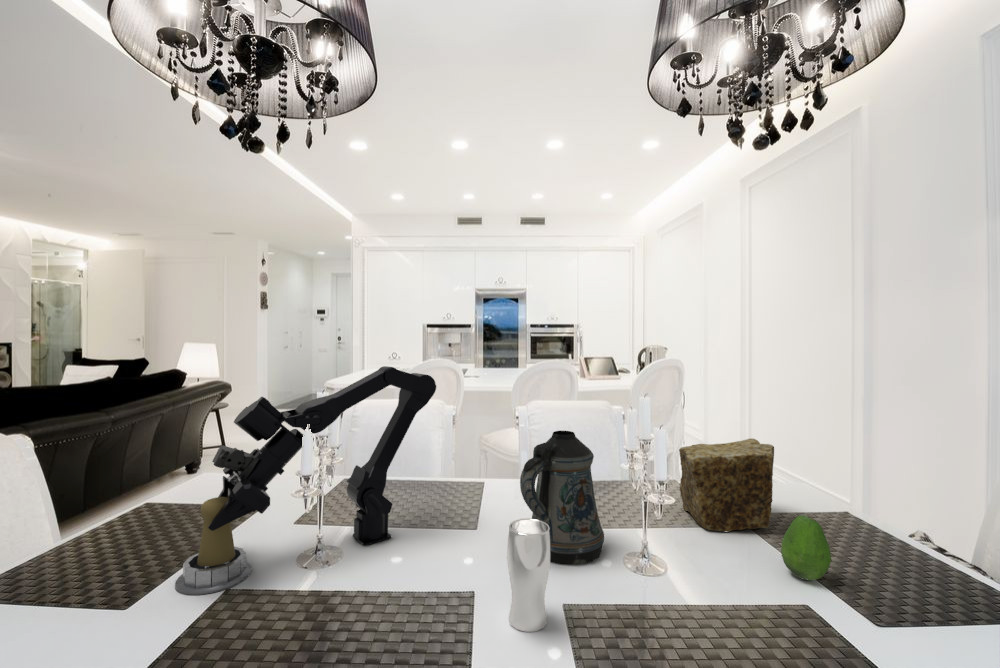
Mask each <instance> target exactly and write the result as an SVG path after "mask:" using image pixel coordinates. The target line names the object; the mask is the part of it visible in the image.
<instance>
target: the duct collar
mask: <svg viewBox="0 0 1000 668" xmlns="http://www.w3.org/2000/svg"><path fill="white" fill-rule="evenodd" d="M234 549H235V557H234V558H233V559H232V560H230V561H228V562H226V563H223V564H220V565H216V566H209V567H206V566H199V565H198V564H197V560H198V554H199V552H198V553H195V554H193V555H191V556H189V557H188V558H187V559H186V560H185V561H184V562H183V566H182V574H181V575H179V576H178V578H177V579H176V580H175V582H174V583H175V584H174V587H175V590H176V591H177V592H178V593H180V594H182V595H188V596H203V595H210V594H215V593H218V592H222V591H225V590H228V589H231V588H233V587H235V586H237V585H240V584H241V583H243V582H244V581H245V580H246V579H248V577H249V576H250V575H251V574H252V570H253V569H252V564H251V563H250V562H249V561H247V560H246V559H247V557H246V555H247V552H246V551H245V549H244V548H242V547H238V546H234Z"/></svg>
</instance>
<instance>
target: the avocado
mask: <svg viewBox="0 0 1000 668" xmlns="http://www.w3.org/2000/svg"><path fill="white" fill-rule="evenodd" d="M780 553H781V557H782V562H783V564H784V566H785V567H786V568H787V569H788V570H789V571H790V572H791V573H792V574H793V575H794V576H795V575H796V576H795V577H797V576H798V577H797V578H799V577H800V578H799V579H801V578H803V579H802V580H804V579H808V580H807V581H809V580H811V581H815V580H819V579H821V578H823V577H824V576H825V575H826V573H827V572H828V571H829V568H830V565H831V563H832V554H831V548H830V546H829V542H828V539H827V538H826V535H825V532H824V530H823V528H822V525H820V522H819V521H816V520H815V519H814V518H812V517H810V516H809V515H804V514H803V515H798V516H796V517H795V518H794V519H793V520H792V522H791V523H790V525H789V526H788V528H787V529H786V531H785V533H784V536H783V538H782V539H781V548H780Z"/></svg>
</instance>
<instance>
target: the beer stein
mask: <svg viewBox="0 0 1000 668" xmlns="http://www.w3.org/2000/svg"><path fill="white" fill-rule="evenodd" d="M532 453H533V455H532V458H529V459H528V460H527V461H526V463H524V465H523V469H522V471H521V474H520V477H519V484H520V485H519V486H520V493H521V496H522V499H523V500H524V502H525V504H526V505H527V507H528V508H529V510H530V511H531V512H532V515H531V519H537V520H541V521H543V522H545V523H547V524H548V525H549V526H550V543H551V560H550V563H553V564H558V565H564V566H565V565H567V566H578V565H579V566H580V565H587V564H589V563H592V562H593V563H594V562H595V560H597V559H599V558H600V557H601V555H602V553H603V547H604V543H605V533H604V530H603V527H602V525H601V522H600V517H599V514H598V508H597V503H596V497H595V491H594V489H595V488H594V485H593V484H594V482H593V475H592V468H591V467H592V464H593V461H594V457H595V456H594V453H593V451H592V450H591V449H590V448H589V447H588V446H586V444H584V443H583V442H582V441H581V440H580V439H579V438H578V437H576V433H575V432H574V431H570V430H555V431H553V432H552V435H551V437H550V438H549V439H547V441H545V442H543V443H539V444H537V445H535V446H534V448H533V451H532ZM536 480H537V482H536ZM535 486H536V487H535Z"/></svg>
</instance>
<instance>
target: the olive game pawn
mask: <svg viewBox="0 0 1000 668" xmlns="http://www.w3.org/2000/svg"><path fill="white" fill-rule="evenodd" d="M227 500H228V497H218V496H217V497H211V498H210V499H207V500H205V501H204V502H203V503H202V505H201V506H200V516H201V518H202V519H203V524H202V528H201V529H202V530H201V537H200V543H199V549H198V553H199V554H198V560H197V564H198V565H199V566H206V567H209V566H216V565H220V564H223V563H226V562H228V561H230V560H232V559H233V558H234V557H235V549H234V547H235V543H234V537H233V536H234V535H233V529H232V523H231V522H230V523H228V524H226V525H224V526H222V527H220V528H218V529H216V530H214V531H212V530H210V529H209V528H208V526H209V525H210V523H211V522H212V520H213V519H214V518H215V516H216V515H217V514H218V512H219V511H220V510H221V508H222V507H223V506H224V504H225V503H226V502H227Z"/></svg>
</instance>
